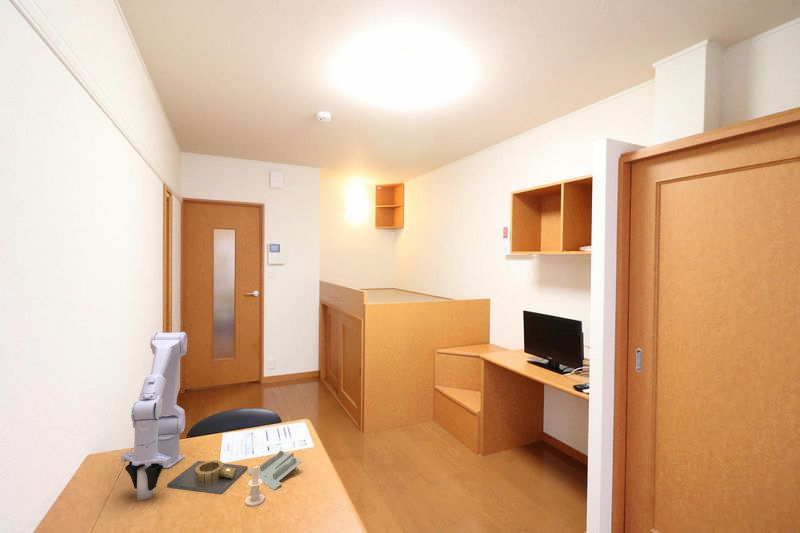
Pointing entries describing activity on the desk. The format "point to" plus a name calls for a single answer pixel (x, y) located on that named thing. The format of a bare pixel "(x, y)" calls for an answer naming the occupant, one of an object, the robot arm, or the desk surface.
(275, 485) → the metal bracket
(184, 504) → the desk surface
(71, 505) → the desk surface
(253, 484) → the beige turned upright piece
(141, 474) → the white rounded block
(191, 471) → the fitting plate
